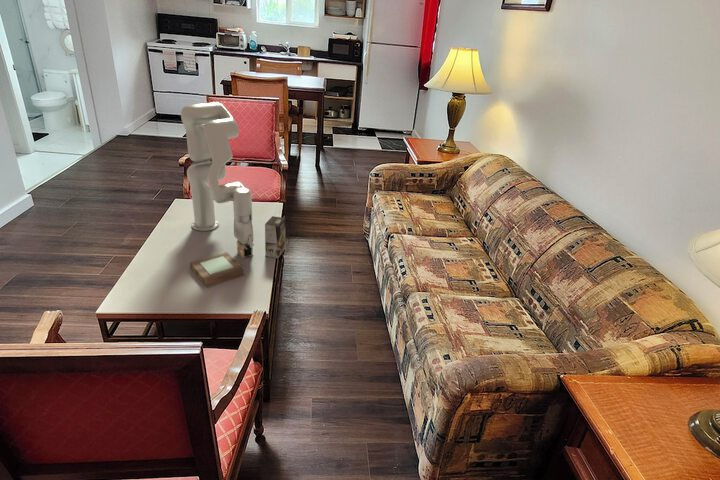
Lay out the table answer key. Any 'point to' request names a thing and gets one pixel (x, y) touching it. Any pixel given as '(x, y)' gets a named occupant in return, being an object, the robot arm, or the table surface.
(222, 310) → the table surface
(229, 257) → the walnut base
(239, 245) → the maple block
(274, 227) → the coffee box
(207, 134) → the robot arm
